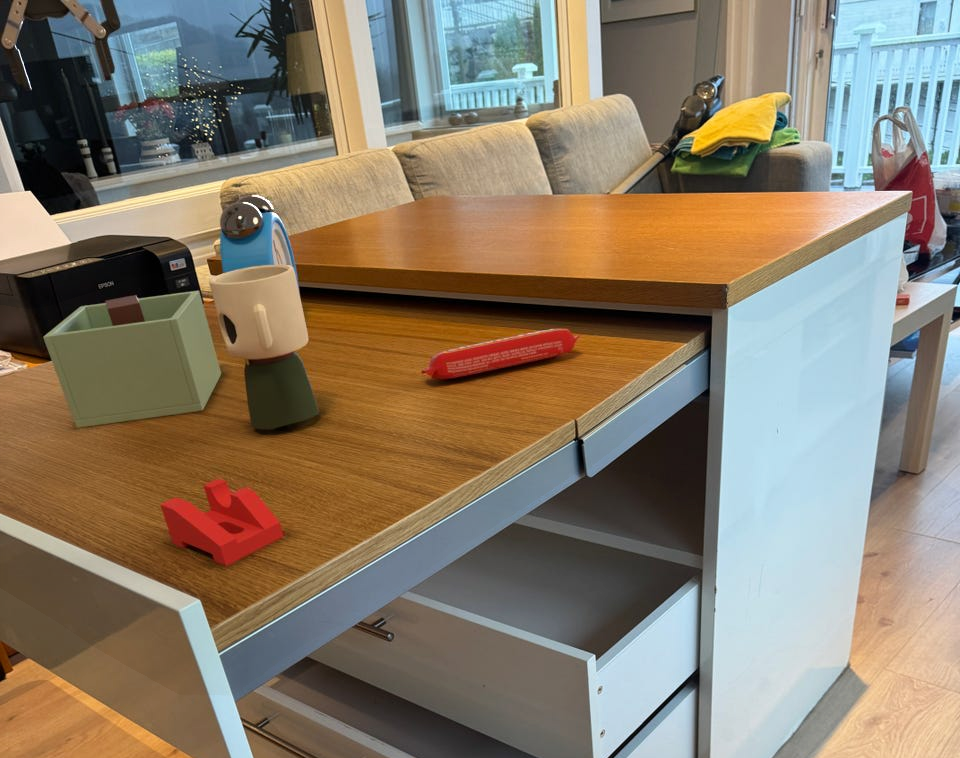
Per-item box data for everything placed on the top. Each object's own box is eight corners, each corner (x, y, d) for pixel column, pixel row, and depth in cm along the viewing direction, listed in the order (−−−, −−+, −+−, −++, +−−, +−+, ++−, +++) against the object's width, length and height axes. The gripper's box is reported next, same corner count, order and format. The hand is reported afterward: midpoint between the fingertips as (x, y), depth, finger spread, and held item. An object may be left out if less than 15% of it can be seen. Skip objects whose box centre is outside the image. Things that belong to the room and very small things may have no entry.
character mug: (246, 412, 86) (209, 268, 79) (320, 398, 87) (290, 256, 80) (248, 450, 77) (206, 293, 70) (330, 435, 78) (297, 278, 71)
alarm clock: (289, 341, 107) (258, 203, 98) (238, 347, 107) (203, 210, 99) (306, 314, 118) (280, 188, 109) (260, 319, 118) (230, 194, 110)
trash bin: (76, 428, 87) (42, 336, 83) (108, 389, 98) (80, 306, 93) (202, 411, 88) (176, 318, 83) (221, 374, 98) (199, 290, 93)
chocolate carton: (133, 389, 94) (104, 300, 89) (163, 383, 95) (136, 294, 90) (136, 401, 90) (106, 309, 85) (167, 394, 91) (139, 302, 86)
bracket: (173, 543, 63) (160, 504, 61) (229, 516, 66) (218, 478, 64) (226, 566, 59) (213, 525, 57) (283, 536, 62) (273, 496, 60)
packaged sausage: (569, 349, 92) (568, 319, 90) (584, 357, 89) (583, 326, 87) (420, 380, 88) (416, 350, 86) (431, 390, 85) (426, 359, 84)
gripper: (-69, -104, 86) (-1, 93, 95) (85, -115, 89) (136, 76, 98) (-61, -91, 92) (2, 94, 101) (83, -101, 95) (132, 78, 104)
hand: (68, 85), depth 99 cm, fingers open, 8 cm apart
